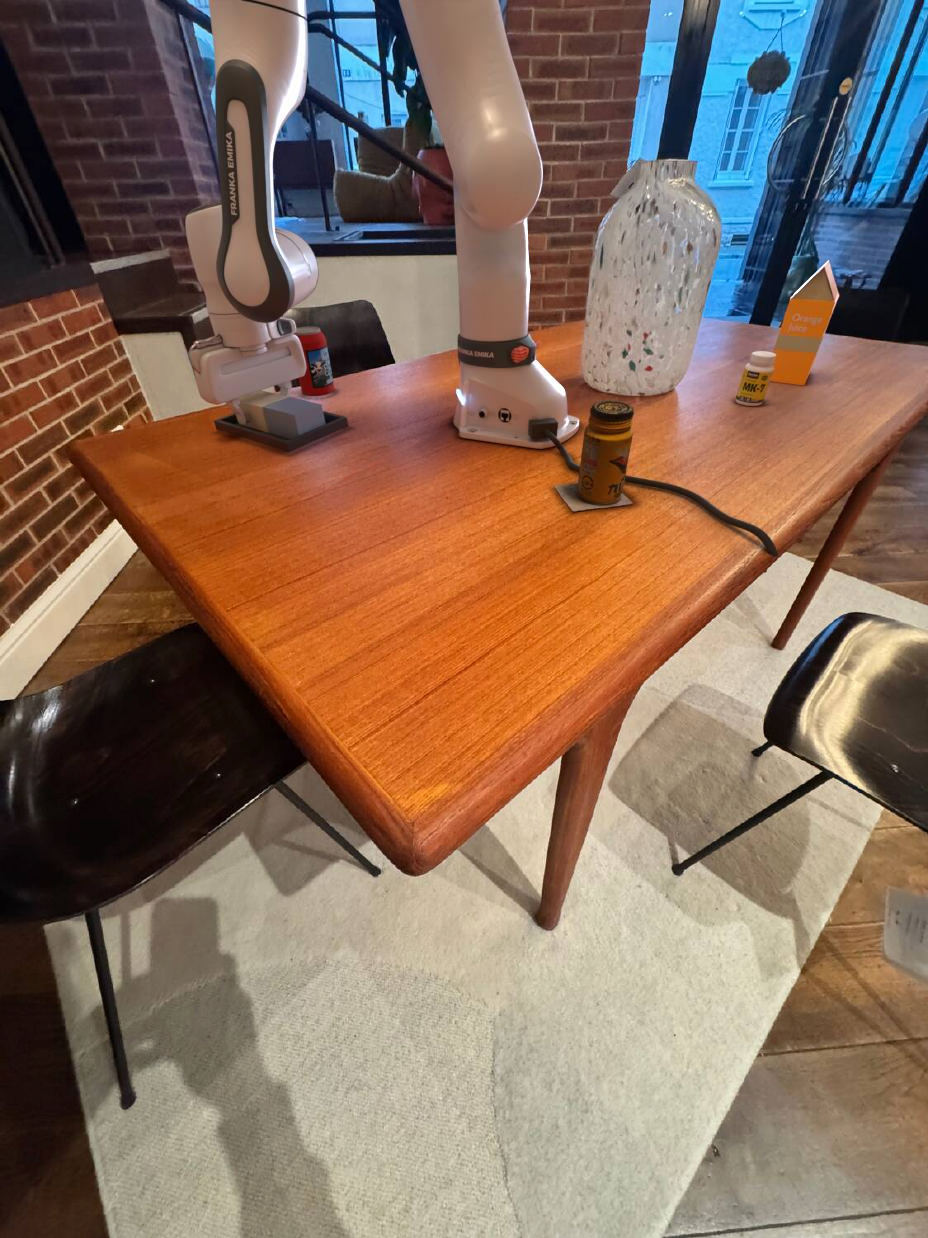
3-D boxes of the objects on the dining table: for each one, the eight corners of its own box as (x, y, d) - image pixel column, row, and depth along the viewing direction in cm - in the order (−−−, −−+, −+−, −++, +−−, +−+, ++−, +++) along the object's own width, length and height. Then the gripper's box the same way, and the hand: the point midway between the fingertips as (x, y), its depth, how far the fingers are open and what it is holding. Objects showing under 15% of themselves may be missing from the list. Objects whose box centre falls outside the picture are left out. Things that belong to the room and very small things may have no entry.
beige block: (294, 422, 95) (288, 396, 92) (267, 432, 91) (260, 406, 88) (265, 414, 99) (258, 389, 96) (239, 424, 95) (231, 398, 92)
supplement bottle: (734, 404, 97) (749, 356, 92) (734, 397, 101) (749, 349, 95) (762, 407, 96) (779, 358, 90) (762, 399, 99) (778, 351, 94)
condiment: (632, 504, 70) (651, 413, 62) (572, 512, 68) (584, 420, 61) (609, 480, 75) (624, 394, 67) (553, 488, 74) (562, 400, 66)
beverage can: (327, 399, 106) (315, 333, 98) (297, 398, 107) (282, 333, 99) (340, 389, 111) (329, 325, 103) (310, 387, 112) (297, 325, 104)
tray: (349, 428, 93) (347, 416, 92) (289, 455, 85) (286, 442, 84) (277, 409, 102) (274, 398, 101) (217, 432, 94) (213, 420, 93)
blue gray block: (326, 430, 91) (321, 404, 88) (300, 442, 88) (294, 414, 85) (296, 422, 95) (290, 396, 92) (269, 432, 91) (262, 406, 88)
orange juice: (809, 374, 110) (853, 259, 97) (804, 385, 105) (850, 266, 92) (769, 369, 114) (806, 258, 101) (762, 380, 108) (800, 264, 95)
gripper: (197, 345, 77) (227, 437, 86) (302, 319, 90) (319, 401, 99) (173, 340, 80) (204, 430, 89) (278, 315, 93) (296, 396, 102)
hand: (265, 415), depth 94 cm, fingers open, 8 cm apart
